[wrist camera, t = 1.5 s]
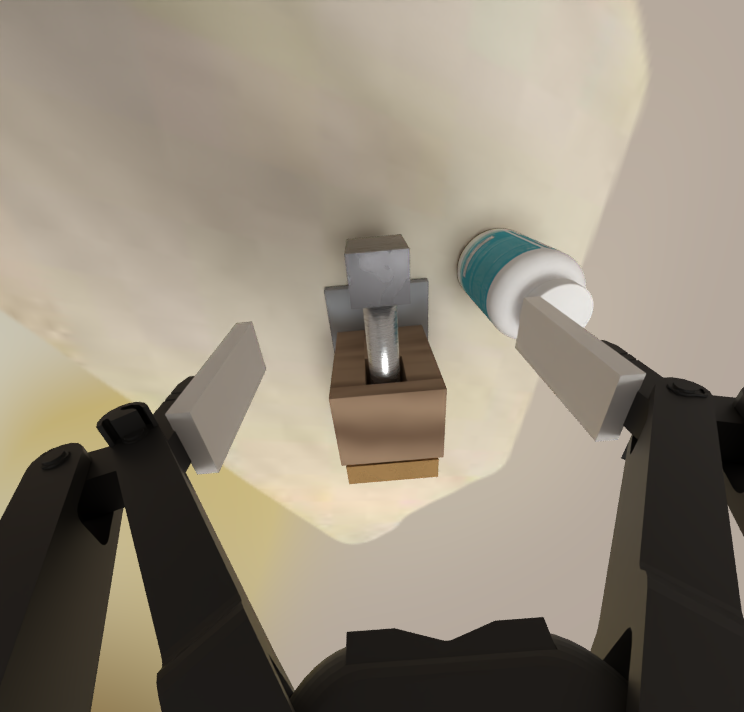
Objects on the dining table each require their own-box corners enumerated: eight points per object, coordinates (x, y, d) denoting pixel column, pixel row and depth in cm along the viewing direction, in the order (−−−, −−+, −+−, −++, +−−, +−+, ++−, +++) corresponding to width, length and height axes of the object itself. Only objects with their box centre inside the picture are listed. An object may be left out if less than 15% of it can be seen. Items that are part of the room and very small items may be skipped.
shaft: (346, 239, 26) (344, 254, 22) (400, 234, 26) (409, 248, 22) (370, 442, 38) (372, 477, 34) (407, 439, 38) (414, 474, 33)
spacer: (348, 407, 39) (346, 467, 31) (422, 400, 39) (438, 459, 31) (351, 422, 40) (349, 483, 33) (422, 416, 40) (437, 476, 32)
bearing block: (325, 287, 35) (309, 346, 23) (426, 278, 34) (459, 333, 23) (349, 435, 46) (345, 522, 35) (425, 428, 46) (447, 513, 35)
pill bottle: (452, 298, 36) (497, 363, 24) (459, 228, 32) (516, 265, 20) (518, 295, 36) (594, 358, 24) (533, 225, 32) (632, 260, 21)
